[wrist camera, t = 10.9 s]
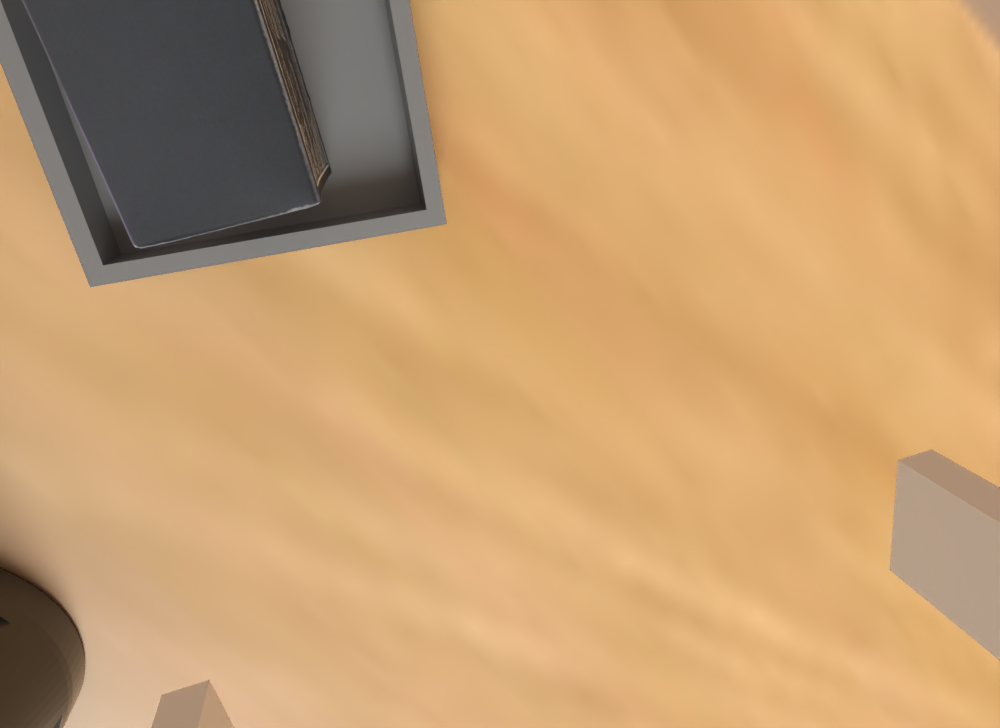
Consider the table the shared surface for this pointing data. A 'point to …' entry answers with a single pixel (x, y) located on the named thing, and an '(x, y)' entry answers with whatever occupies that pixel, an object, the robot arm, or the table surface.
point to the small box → (187, 110)
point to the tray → (341, 121)
